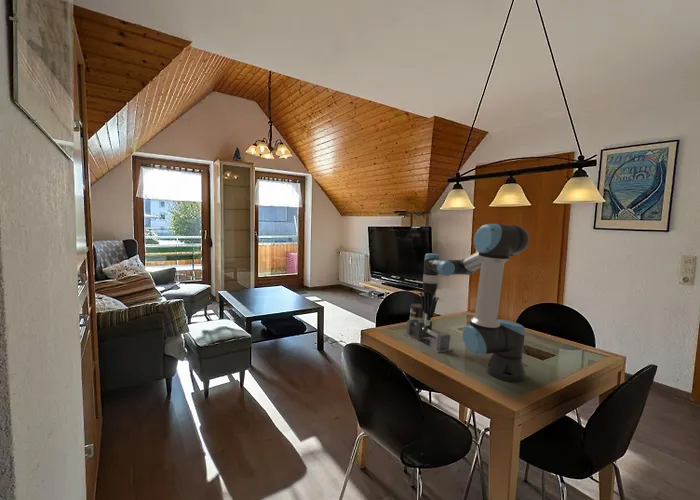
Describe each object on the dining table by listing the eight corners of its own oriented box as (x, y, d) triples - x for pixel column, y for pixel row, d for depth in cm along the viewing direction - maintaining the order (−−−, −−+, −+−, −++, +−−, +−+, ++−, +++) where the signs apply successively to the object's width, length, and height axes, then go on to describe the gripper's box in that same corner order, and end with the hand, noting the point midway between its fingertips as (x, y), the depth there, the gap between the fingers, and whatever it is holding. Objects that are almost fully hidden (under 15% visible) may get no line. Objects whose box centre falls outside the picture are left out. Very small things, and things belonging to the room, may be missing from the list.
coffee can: (413, 331, 199) (415, 307, 198) (406, 325, 209) (407, 303, 208) (429, 330, 202) (430, 307, 201) (420, 325, 212) (422, 303, 211)
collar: (431, 336, 185) (432, 321, 185) (418, 338, 182) (419, 323, 181) (427, 334, 188) (428, 320, 187) (415, 336, 184) (416, 321, 184)
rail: (453, 350, 171) (454, 335, 171) (437, 352, 167) (438, 337, 166) (416, 331, 198) (417, 318, 197) (402, 333, 194) (403, 320, 193)
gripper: (443, 284, 176) (440, 328, 178) (427, 279, 188) (424, 321, 190) (432, 284, 173) (429, 329, 175) (416, 280, 184) (413, 322, 186)
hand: (426, 325), depth 182 cm, fingers closed
